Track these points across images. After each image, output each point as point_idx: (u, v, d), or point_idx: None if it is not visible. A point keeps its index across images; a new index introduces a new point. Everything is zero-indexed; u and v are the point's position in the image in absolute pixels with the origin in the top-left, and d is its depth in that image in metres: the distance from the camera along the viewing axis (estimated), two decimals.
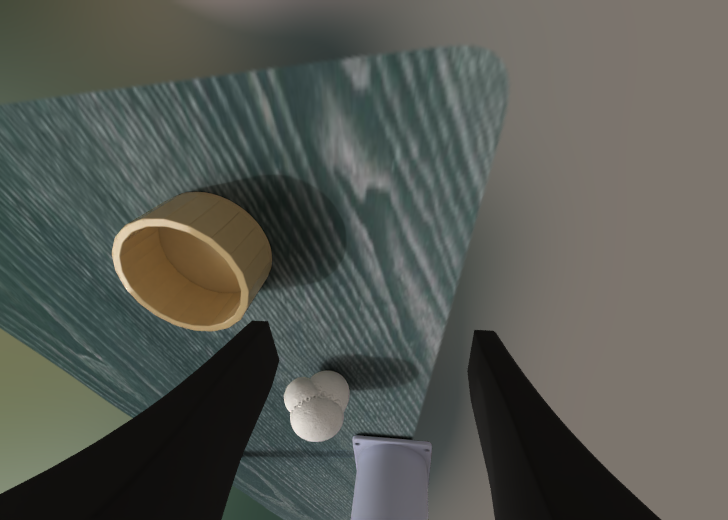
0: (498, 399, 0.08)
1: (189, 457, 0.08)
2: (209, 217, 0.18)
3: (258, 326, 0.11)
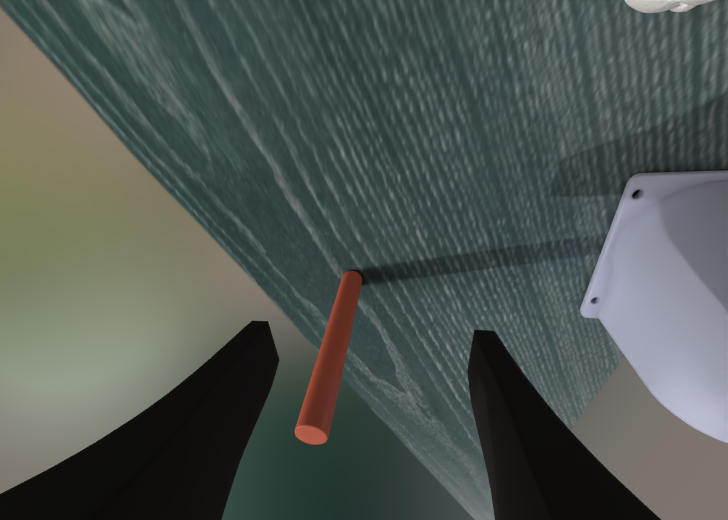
0: (498, 399, 0.08)
1: (189, 457, 0.08)
2: None
3: (258, 326, 0.11)
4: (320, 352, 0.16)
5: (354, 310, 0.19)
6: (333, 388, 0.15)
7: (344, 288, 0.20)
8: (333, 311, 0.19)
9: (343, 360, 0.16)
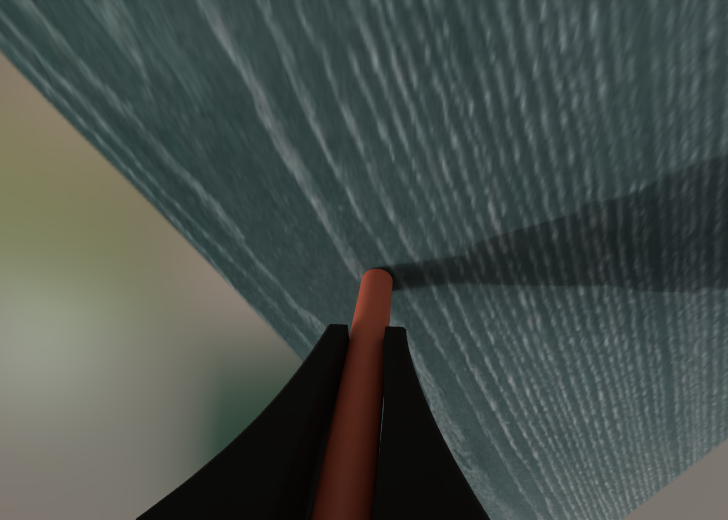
0: None
1: (305, 469, 0.07)
2: None
3: (340, 329, 0.11)
4: (335, 422, 0.09)
5: None
6: (365, 517, 0.07)
7: (368, 296, 0.13)
8: (353, 336, 0.11)
9: (378, 438, 0.09)
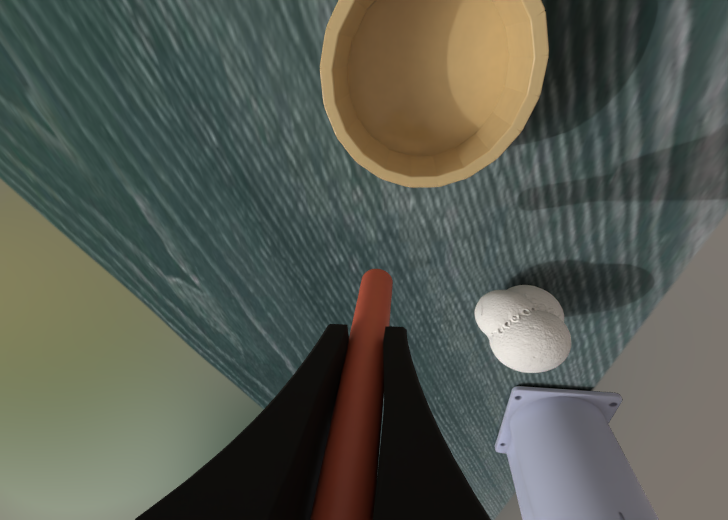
0: None
1: (305, 469, 0.07)
2: None
3: (340, 329, 0.11)
4: (335, 422, 0.09)
5: None
6: (365, 518, 0.07)
7: (368, 296, 0.13)
8: (353, 337, 0.11)
9: (378, 438, 0.09)
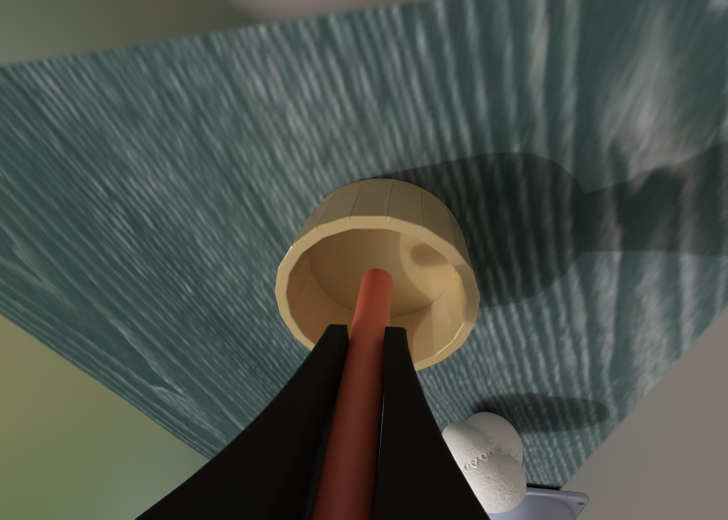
0: None
1: (304, 469, 0.07)
2: (431, 215, 0.12)
3: (339, 329, 0.11)
4: (335, 422, 0.09)
5: None
6: (365, 518, 0.07)
7: (368, 296, 0.13)
8: (353, 336, 0.11)
9: (379, 438, 0.08)
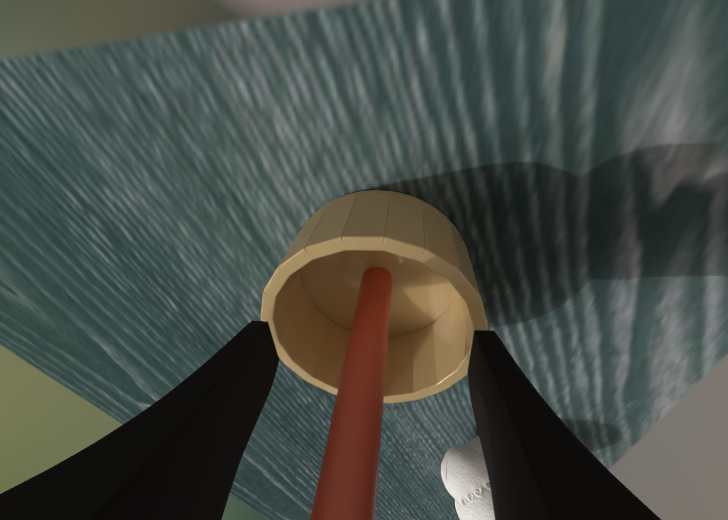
0: (498, 399, 0.08)
1: (189, 457, 0.08)
2: (433, 233, 0.11)
3: (258, 326, 0.11)
4: (336, 417, 0.09)
5: (387, 331, 0.12)
6: (366, 510, 0.07)
7: (369, 294, 0.13)
8: (354, 334, 0.11)
9: (379, 433, 0.09)
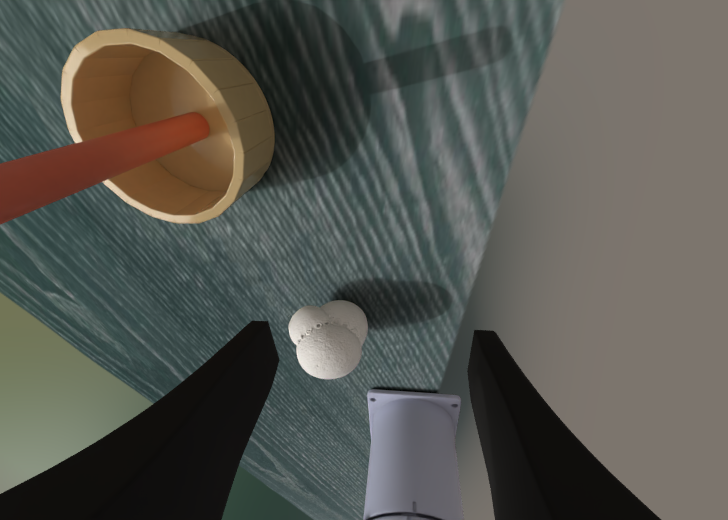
0: (498, 399, 0.08)
1: (189, 457, 0.08)
2: (191, 45, 0.14)
3: (258, 326, 0.11)
4: None
5: (167, 136, 0.14)
6: (41, 168, 0.10)
7: (167, 119, 0.15)
8: None
9: (100, 160, 0.11)
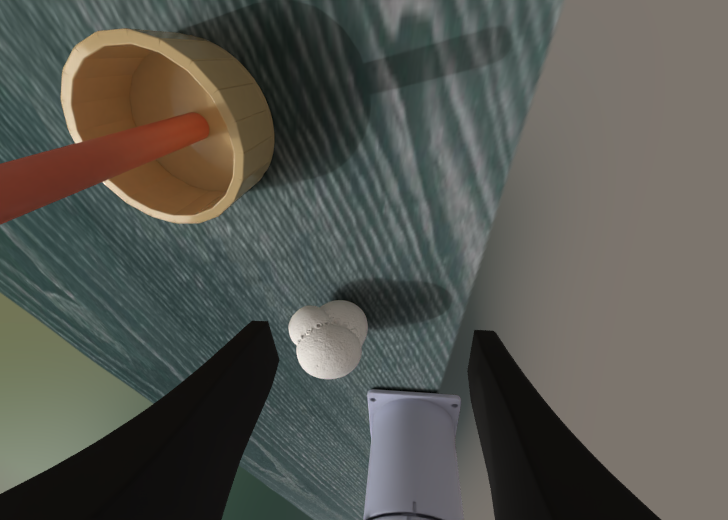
0: (498, 399, 0.08)
1: (189, 457, 0.08)
2: (191, 45, 0.14)
3: (258, 326, 0.11)
4: None
5: (167, 136, 0.14)
6: (41, 168, 0.10)
7: (167, 119, 0.15)
8: None
9: (100, 160, 0.11)
